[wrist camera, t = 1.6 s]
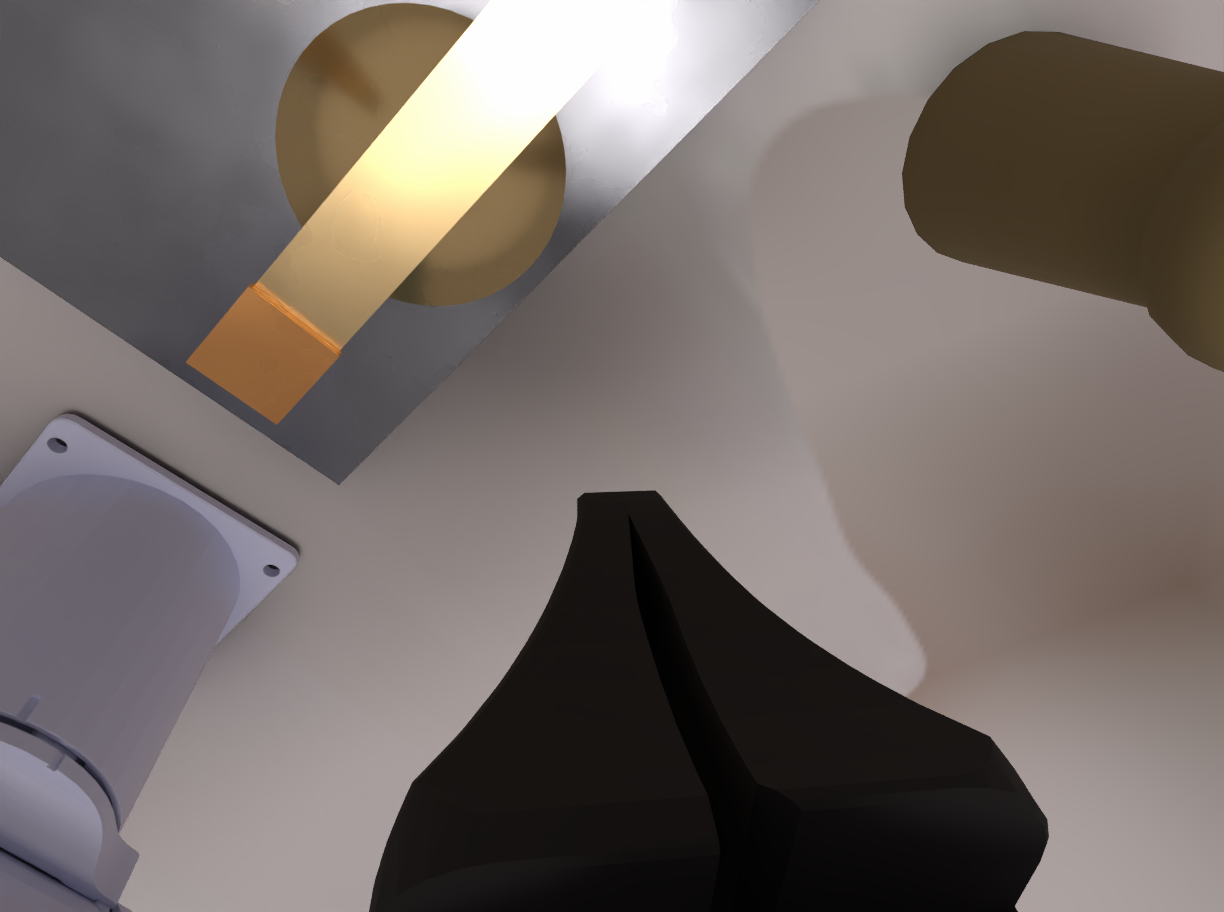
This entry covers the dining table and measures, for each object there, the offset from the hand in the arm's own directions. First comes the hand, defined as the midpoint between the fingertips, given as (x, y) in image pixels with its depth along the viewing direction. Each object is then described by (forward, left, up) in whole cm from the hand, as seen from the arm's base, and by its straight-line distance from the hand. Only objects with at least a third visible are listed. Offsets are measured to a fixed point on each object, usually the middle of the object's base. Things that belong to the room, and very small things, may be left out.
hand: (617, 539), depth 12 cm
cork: (+12, -5, -11) cm, 17 cm away
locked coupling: (+1, +6, -8) cm, 10 cm away
